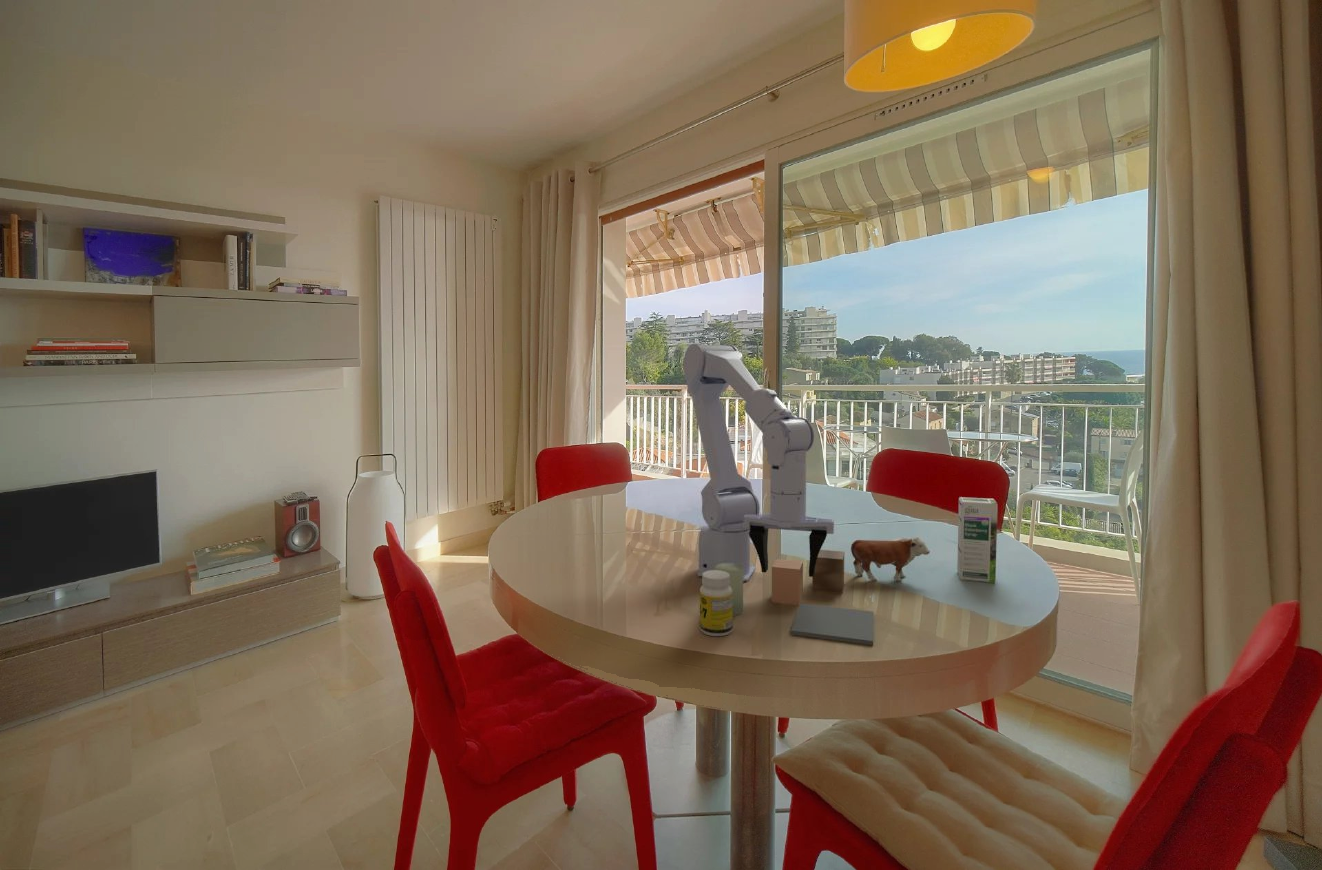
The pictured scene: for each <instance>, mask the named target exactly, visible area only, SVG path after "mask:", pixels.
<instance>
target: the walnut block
mask: <svg viewBox="0 0 1322 870" xmlns="http://www.w3.org/2000/svg"><path fill="white" fill-rule="evenodd" d="M811 578H812V580H811V581H812V583H811V584H812V591H813V592H821V593H822V592H823V593H831V594H832V593H833V594H840V595H841V594H844V593H843V592H844V587H845V586H844V585H845V551H842V550H829V549H820V552H819V554H818V557H817V561H816V565H815V574H814V577H811Z"/></svg>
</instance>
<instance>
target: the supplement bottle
mask: <svg viewBox="0 0 1322 870" xmlns="http://www.w3.org/2000/svg"><path fill="white" fill-rule="evenodd" d="M701 584H702V585H701V586H700V588H699V629H700V631H701V633H703V634H705V635H707V636H710V637H724V636H727V635H730V634H731V633H732V631H733V628H734V627H733V625H734V623H733V617H734V616H733V614H732V612H733V611H732V595H733V593H732V588H731V587H730V586H729V585H730V575H729V573H727V572H725V571H720V570H710V571H706V572H704V573H703V574H702V576H701Z"/></svg>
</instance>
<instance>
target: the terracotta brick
mask: <svg viewBox="0 0 1322 870" xmlns="http://www.w3.org/2000/svg"><path fill="white" fill-rule="evenodd" d="M803 586H804V561H801V560H790V559H782V558H781V559H779V558H778V559H777V558H776V559H775V560H774V562H773V564H772V566H771V603H774V604H776V603H777V604H784V605H791V606H792V605H793V606H800V604H801V602H802V599H803V596H804V587H803Z"/></svg>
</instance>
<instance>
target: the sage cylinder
mask: <svg viewBox="0 0 1322 870" xmlns="http://www.w3.org/2000/svg"><path fill="white" fill-rule="evenodd" d="M715 570H720V571H725V572H727V573H729V575H730V585H729V586H730V587H731V588H732V593H733V595H732V611H733V612H732V614H733V617H736V616H740V615H741V614H743V613H744V581H743V566H741V565H738V564H733V563H723V564H718V565H716V566H715Z"/></svg>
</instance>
